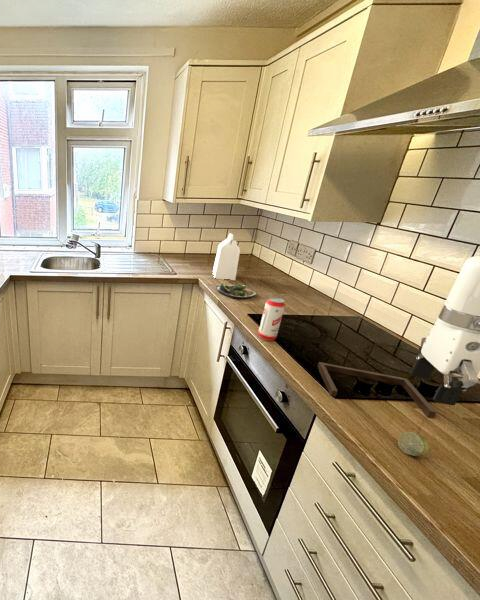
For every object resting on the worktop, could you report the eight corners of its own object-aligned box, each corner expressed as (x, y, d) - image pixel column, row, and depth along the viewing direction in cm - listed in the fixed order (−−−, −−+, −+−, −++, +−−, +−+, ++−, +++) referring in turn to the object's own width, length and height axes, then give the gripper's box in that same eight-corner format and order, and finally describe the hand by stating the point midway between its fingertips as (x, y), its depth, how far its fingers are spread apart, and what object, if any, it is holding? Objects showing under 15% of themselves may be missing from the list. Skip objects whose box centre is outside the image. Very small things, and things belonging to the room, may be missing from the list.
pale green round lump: (421, 463, 70) (431, 446, 68) (392, 449, 73) (401, 432, 71) (425, 453, 72) (435, 437, 70) (397, 440, 76) (405, 424, 74)
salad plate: (236, 285, 179) (238, 277, 177) (264, 295, 164) (266, 287, 162) (210, 289, 172) (211, 281, 170) (237, 301, 157) (238, 292, 155)
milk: (212, 273, 201) (219, 232, 191) (231, 274, 198) (239, 233, 188) (214, 278, 190) (222, 235, 180) (235, 280, 187) (244, 236, 177)
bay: (404, 383, 96) (407, 378, 95) (433, 418, 83) (436, 412, 82) (317, 367, 104) (318, 361, 103) (330, 395, 91) (332, 390, 90)
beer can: (278, 338, 122) (289, 300, 116) (270, 343, 118) (281, 304, 112) (262, 332, 127) (272, 295, 120) (254, 336, 123) (263, 298, 117)
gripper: (529, 342, 54) (480, 420, 60) (465, 306, 68) (431, 372, 75) (469, 333, 57) (428, 409, 63) (420, 300, 71) (391, 364, 78)
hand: (430, 389), depth 69 cm, fingers open, 9 cm apart
